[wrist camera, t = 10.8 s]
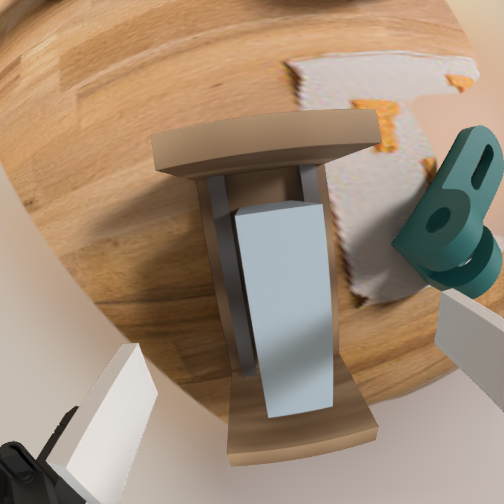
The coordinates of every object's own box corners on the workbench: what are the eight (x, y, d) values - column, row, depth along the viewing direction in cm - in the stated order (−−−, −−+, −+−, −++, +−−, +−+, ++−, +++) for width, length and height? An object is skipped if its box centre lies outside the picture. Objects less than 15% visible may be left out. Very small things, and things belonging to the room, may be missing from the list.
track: (195, 162, 21) (150, 135, 11) (317, 146, 21) (375, 109, 11) (235, 377, 25) (231, 466, 15) (336, 361, 25) (375, 439, 15)
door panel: (239, 207, 21) (235, 216, 12) (291, 200, 21) (322, 204, 12) (261, 346, 24) (268, 417, 15) (306, 339, 24) (332, 406, 15)
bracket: (428, 283, 24) (476, 311, 17) (390, 243, 23) (441, 263, 16) (496, 160, 22) (543, 159, 14) (466, 116, 21) (515, 104, 13)
